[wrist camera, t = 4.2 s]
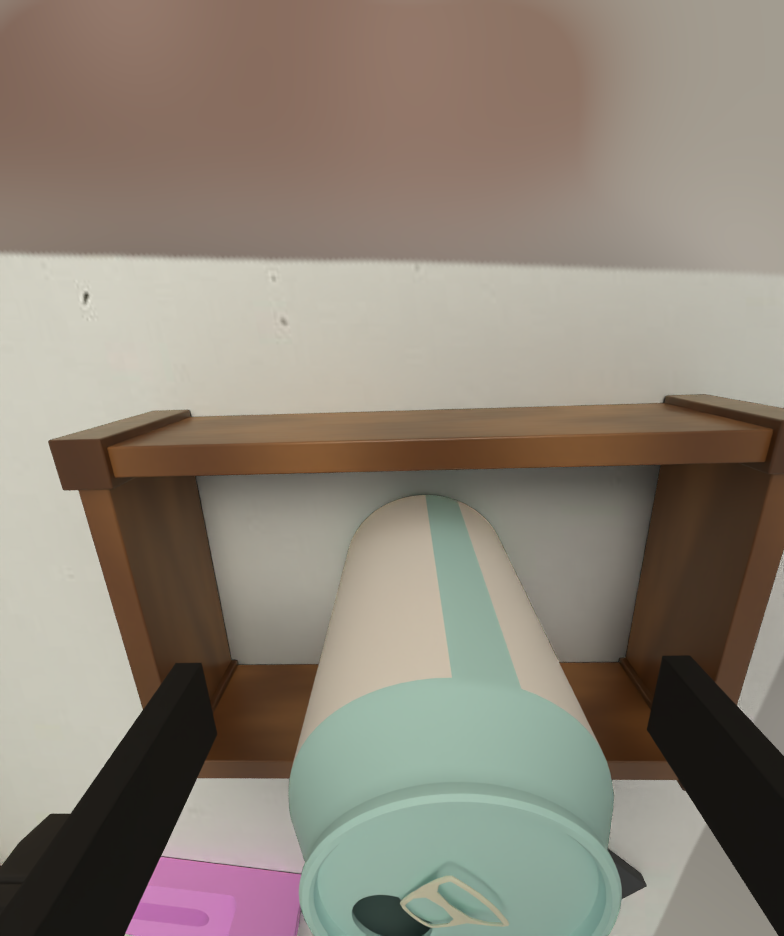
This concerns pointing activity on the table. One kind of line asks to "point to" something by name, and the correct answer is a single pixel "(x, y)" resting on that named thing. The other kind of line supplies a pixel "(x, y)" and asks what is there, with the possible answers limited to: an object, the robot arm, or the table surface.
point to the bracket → (217, 901)
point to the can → (446, 749)
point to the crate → (440, 448)
